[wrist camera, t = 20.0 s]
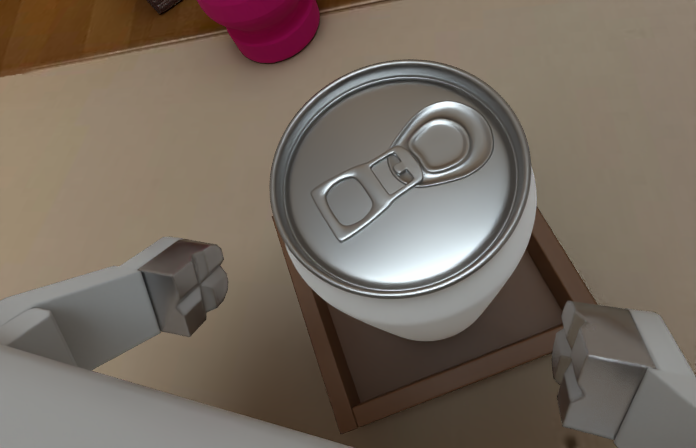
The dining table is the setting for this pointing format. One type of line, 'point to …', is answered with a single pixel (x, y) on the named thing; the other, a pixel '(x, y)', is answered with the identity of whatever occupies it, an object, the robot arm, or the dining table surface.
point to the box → (162, 4)
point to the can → (405, 196)
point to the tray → (442, 355)
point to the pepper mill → (266, 25)
